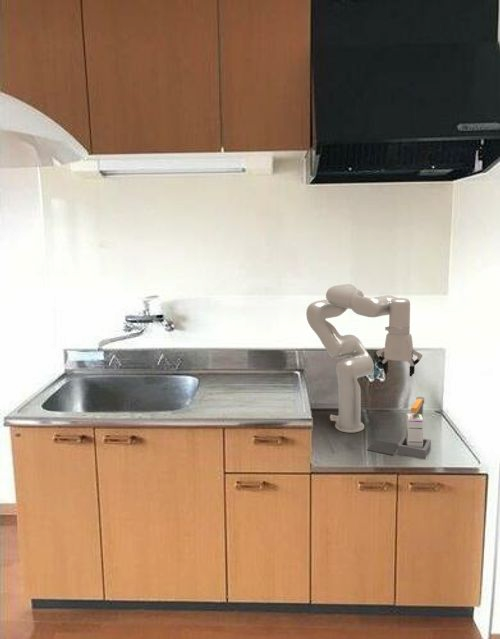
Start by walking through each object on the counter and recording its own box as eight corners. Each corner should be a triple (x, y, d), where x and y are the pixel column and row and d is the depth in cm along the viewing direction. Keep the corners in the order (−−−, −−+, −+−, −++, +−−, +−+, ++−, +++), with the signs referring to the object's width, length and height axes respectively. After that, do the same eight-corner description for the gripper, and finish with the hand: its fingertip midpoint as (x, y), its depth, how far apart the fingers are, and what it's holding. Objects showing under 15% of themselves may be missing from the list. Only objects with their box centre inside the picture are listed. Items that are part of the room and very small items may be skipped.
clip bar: (409, 412, 189) (409, 407, 189) (417, 400, 201) (417, 396, 200) (417, 413, 188) (417, 408, 187) (424, 402, 199) (425, 397, 199)
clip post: (410, 442, 201) (411, 404, 198) (412, 438, 206) (413, 400, 202) (425, 445, 198) (426, 406, 195) (427, 440, 203) (429, 402, 199)
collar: (397, 453, 192) (397, 445, 192) (403, 443, 201) (404, 435, 201) (425, 459, 187) (425, 450, 187) (430, 448, 196) (430, 439, 195)
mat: (367, 450, 196) (367, 449, 196) (374, 440, 205) (374, 439, 205) (392, 455, 191) (392, 454, 191) (398, 445, 200) (398, 444, 200)
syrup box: (423, 454, 191) (424, 419, 188) (407, 453, 192) (408, 418, 189) (421, 448, 196) (422, 413, 194) (405, 447, 198) (406, 412, 195)
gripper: (373, 331, 190) (373, 374, 193) (421, 334, 181) (420, 379, 184) (379, 327, 196) (378, 369, 199) (424, 330, 188) (423, 373, 191)
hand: (398, 374), depth 192 cm, fingers open, 9 cm apart
